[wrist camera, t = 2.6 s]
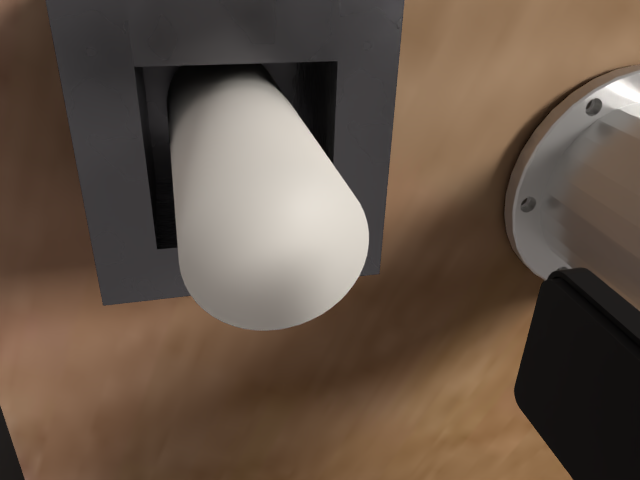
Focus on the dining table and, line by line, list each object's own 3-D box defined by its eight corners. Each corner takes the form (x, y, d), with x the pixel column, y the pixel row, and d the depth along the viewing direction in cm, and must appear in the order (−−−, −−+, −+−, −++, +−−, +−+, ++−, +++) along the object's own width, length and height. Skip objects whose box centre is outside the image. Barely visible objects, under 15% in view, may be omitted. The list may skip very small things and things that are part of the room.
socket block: (331, 196, 28) (379, 273, 22) (114, 214, 26) (103, 305, 20) (341, -31, 23) (405, -10, 17) (73, -34, 21) (43, -10, 15)
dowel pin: (278, 154, 25) (363, 318, 15) (172, 160, 24) (187, 341, 14) (278, 46, 23) (375, 156, 13) (161, 49, 22) (168, 170, 12)
